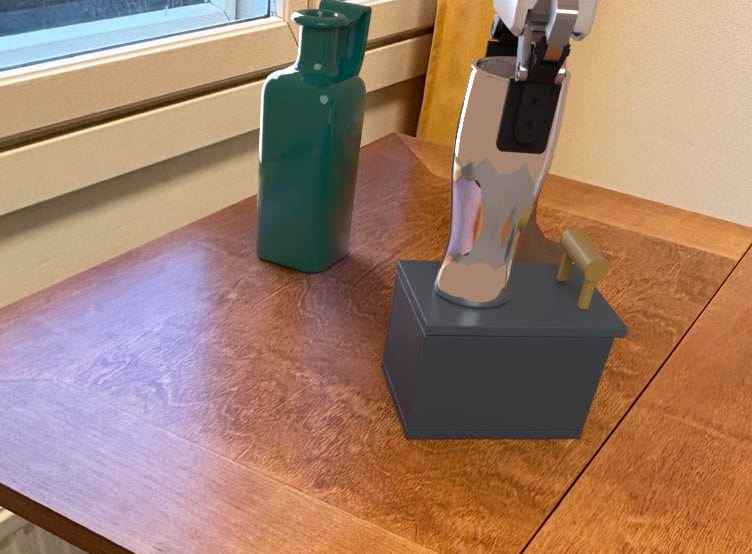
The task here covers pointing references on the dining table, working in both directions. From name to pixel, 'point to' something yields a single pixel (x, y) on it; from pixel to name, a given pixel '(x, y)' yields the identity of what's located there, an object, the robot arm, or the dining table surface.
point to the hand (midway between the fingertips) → (508, 128)
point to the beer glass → (489, 191)
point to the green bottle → (313, 140)
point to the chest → (488, 380)
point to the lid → (525, 298)
